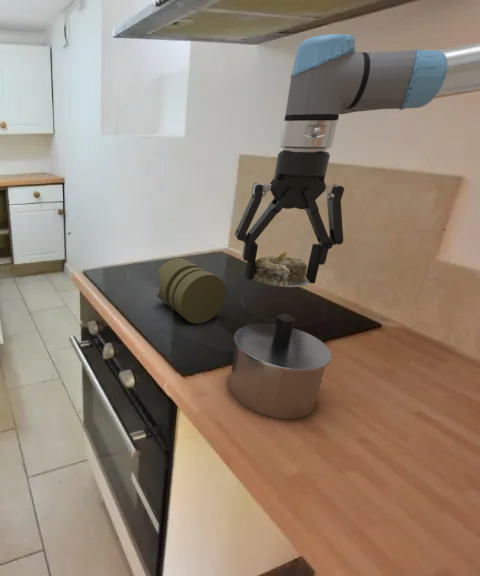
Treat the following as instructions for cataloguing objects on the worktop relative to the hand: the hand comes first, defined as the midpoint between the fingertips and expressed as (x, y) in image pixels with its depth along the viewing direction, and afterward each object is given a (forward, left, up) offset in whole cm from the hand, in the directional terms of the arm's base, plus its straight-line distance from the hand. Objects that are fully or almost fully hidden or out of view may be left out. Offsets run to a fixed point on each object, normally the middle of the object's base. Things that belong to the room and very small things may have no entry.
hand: (278, 278), depth 70 cm
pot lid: (+3, +16, -5) cm, 17 cm away
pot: (+3, +16, -14) cm, 21 cm away
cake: (0, 0, 0) cm, 0 cm away
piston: (+15, -12, -14) cm, 24 cm away
